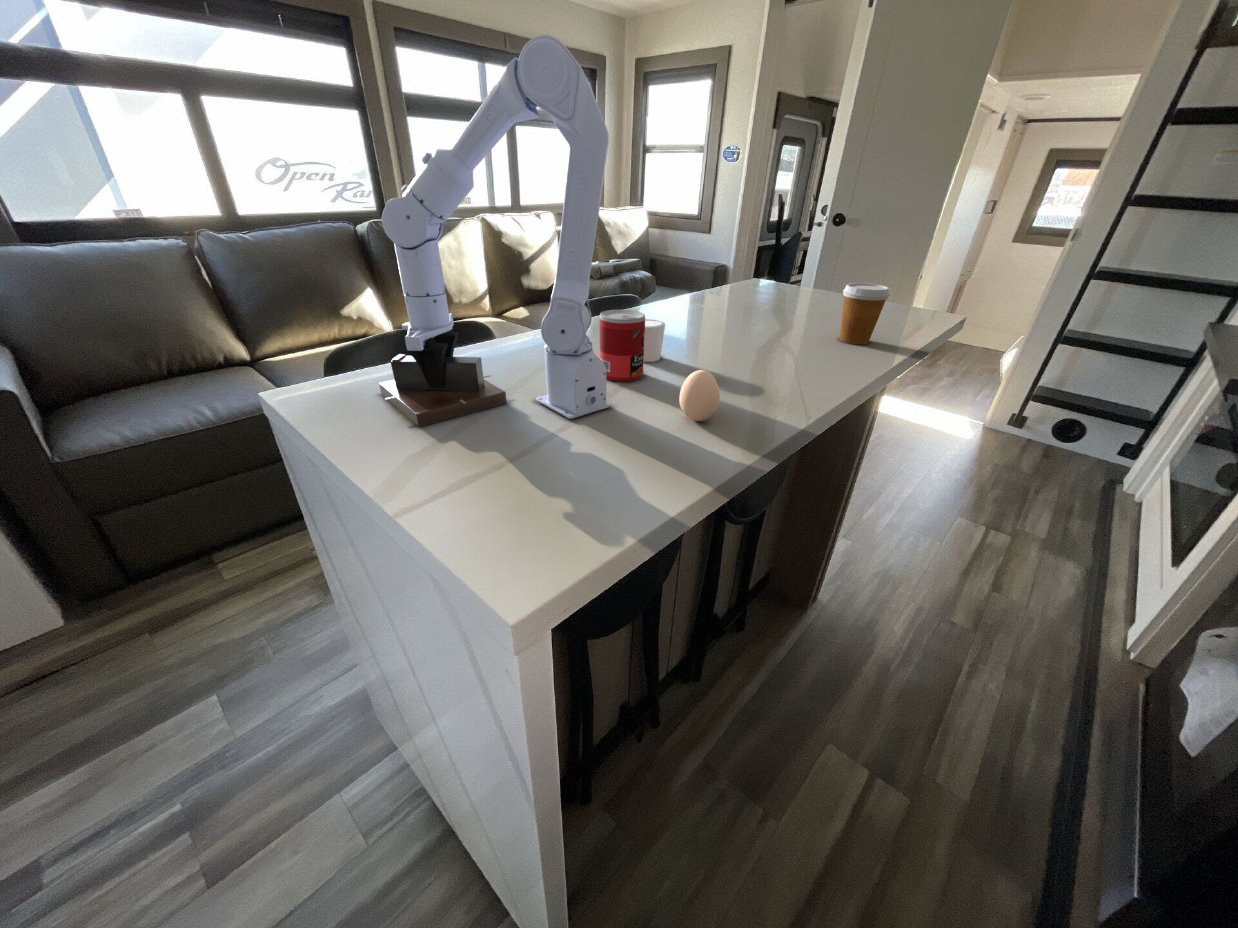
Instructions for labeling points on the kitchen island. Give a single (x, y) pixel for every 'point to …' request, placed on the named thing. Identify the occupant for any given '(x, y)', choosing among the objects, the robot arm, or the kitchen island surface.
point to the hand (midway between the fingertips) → (440, 382)
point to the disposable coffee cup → (861, 311)
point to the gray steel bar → (456, 374)
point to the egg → (699, 395)
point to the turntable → (441, 401)
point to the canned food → (622, 344)
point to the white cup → (653, 340)
